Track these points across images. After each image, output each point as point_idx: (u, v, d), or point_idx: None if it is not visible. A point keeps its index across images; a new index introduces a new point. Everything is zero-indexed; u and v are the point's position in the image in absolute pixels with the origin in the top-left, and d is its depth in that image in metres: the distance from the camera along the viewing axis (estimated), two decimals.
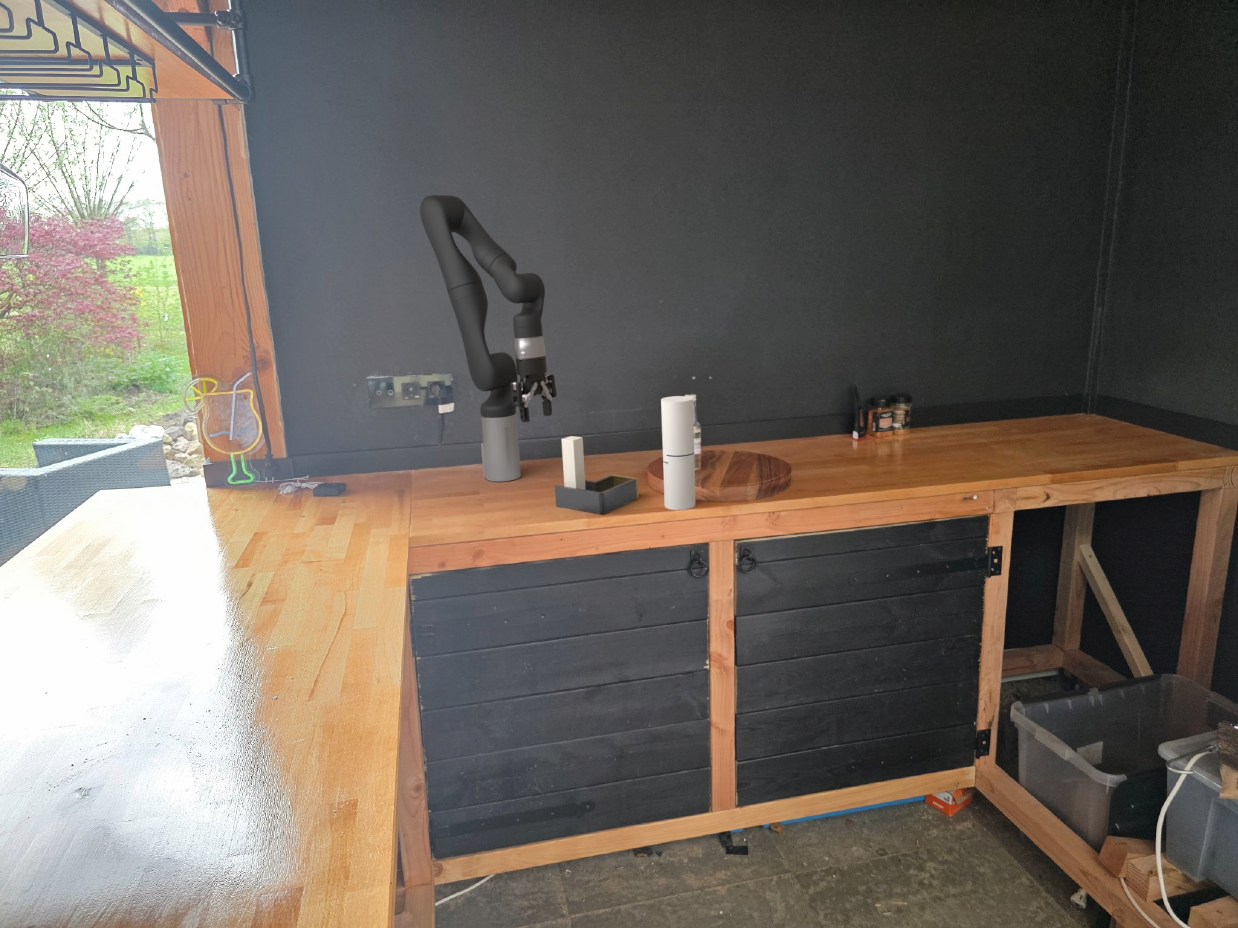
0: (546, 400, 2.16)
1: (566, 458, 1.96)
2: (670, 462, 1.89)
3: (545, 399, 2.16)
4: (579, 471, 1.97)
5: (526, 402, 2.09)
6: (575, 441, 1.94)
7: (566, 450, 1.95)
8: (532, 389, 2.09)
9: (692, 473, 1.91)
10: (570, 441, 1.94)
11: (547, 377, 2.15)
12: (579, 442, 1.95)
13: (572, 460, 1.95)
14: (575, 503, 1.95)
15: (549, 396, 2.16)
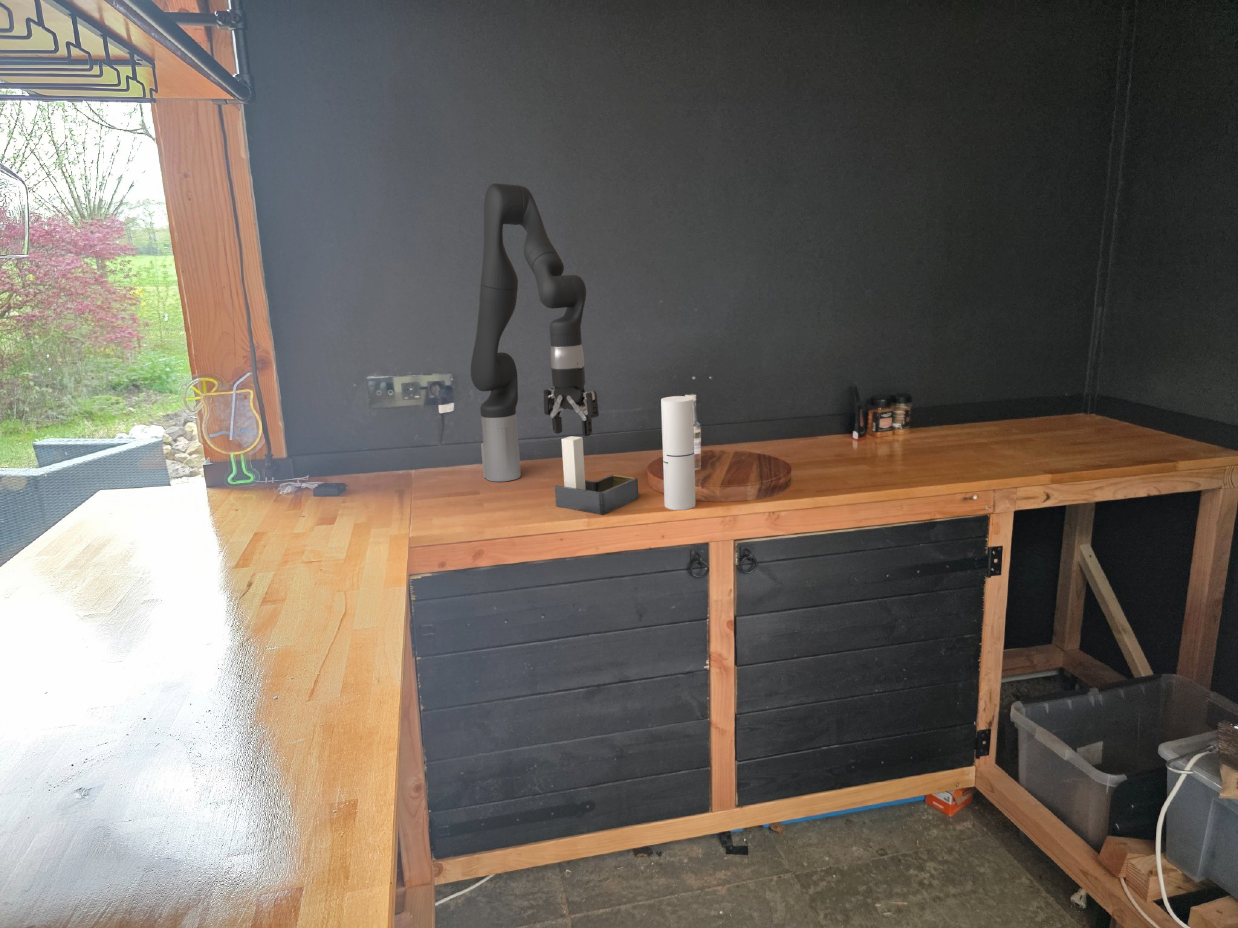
0: (558, 416, 1.97)
1: (566, 458, 1.96)
2: (670, 462, 1.89)
3: (557, 415, 1.97)
4: (579, 471, 1.97)
5: None
6: (575, 441, 1.94)
7: (566, 450, 1.95)
8: None
9: (692, 473, 1.91)
10: (570, 441, 1.94)
11: None
12: (579, 442, 1.95)
13: (572, 460, 1.95)
14: (575, 503, 1.95)
15: None
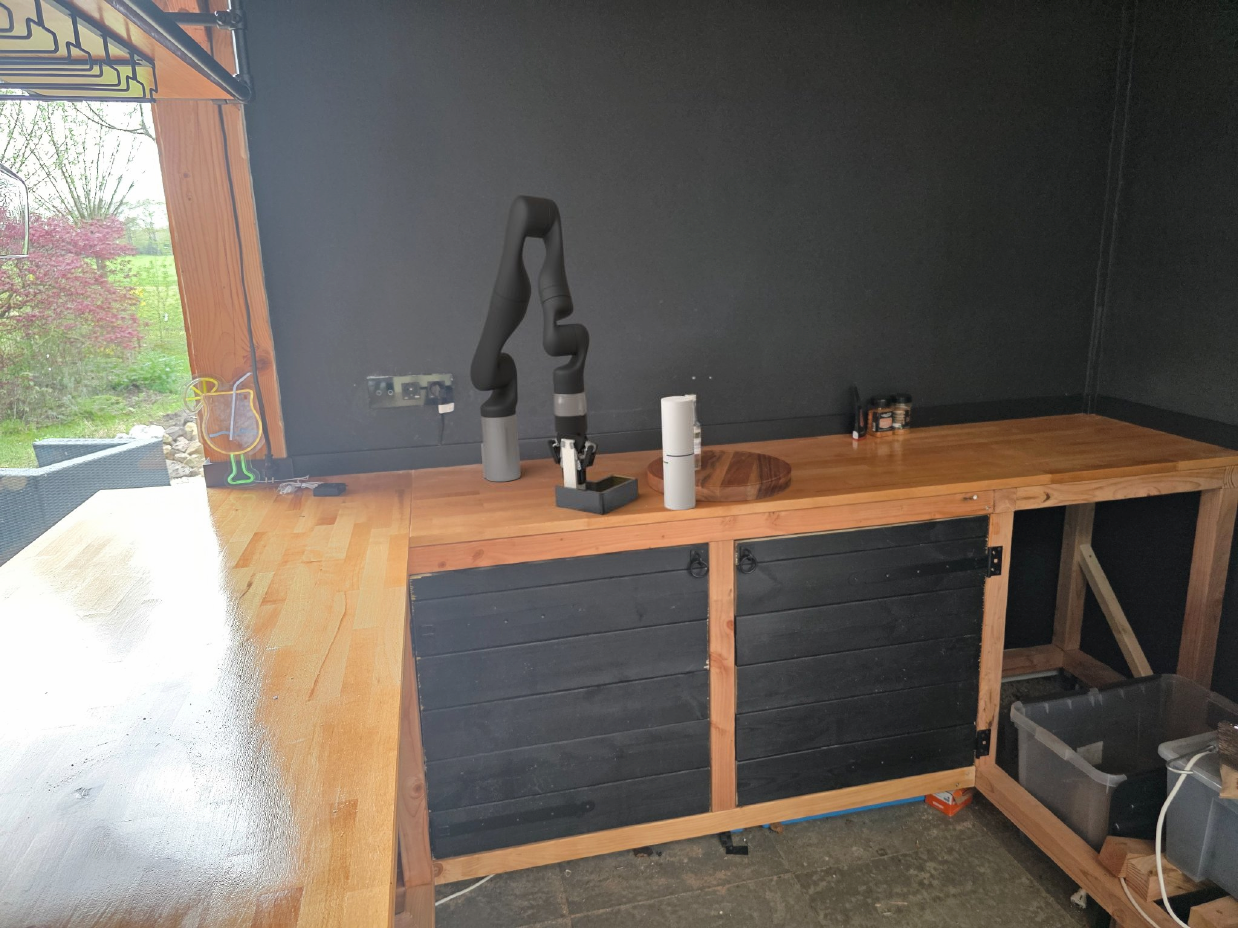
0: None
1: (566, 458, 1.96)
2: (670, 462, 1.89)
3: None
4: None
5: None
6: None
7: (566, 450, 1.95)
8: None
9: (692, 473, 1.91)
10: (570, 441, 1.94)
11: None
12: None
13: (572, 460, 1.95)
14: (575, 503, 1.95)
15: None
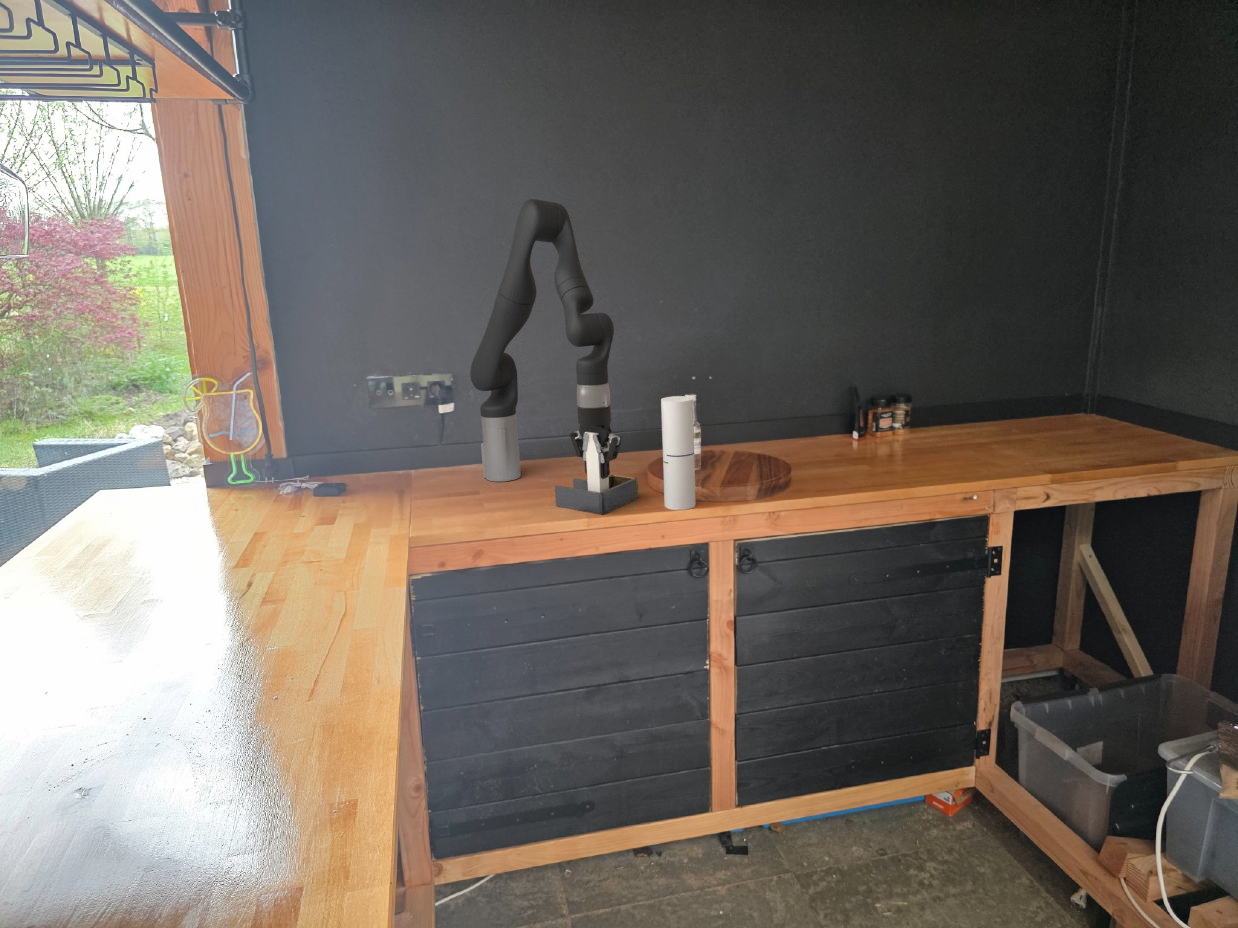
0: None
1: (590, 451, 1.91)
2: (670, 462, 1.89)
3: None
4: None
5: None
6: None
7: (589, 444, 1.91)
8: None
9: (692, 473, 1.91)
10: None
11: None
12: None
13: (596, 454, 1.91)
14: (575, 503, 1.95)
15: None
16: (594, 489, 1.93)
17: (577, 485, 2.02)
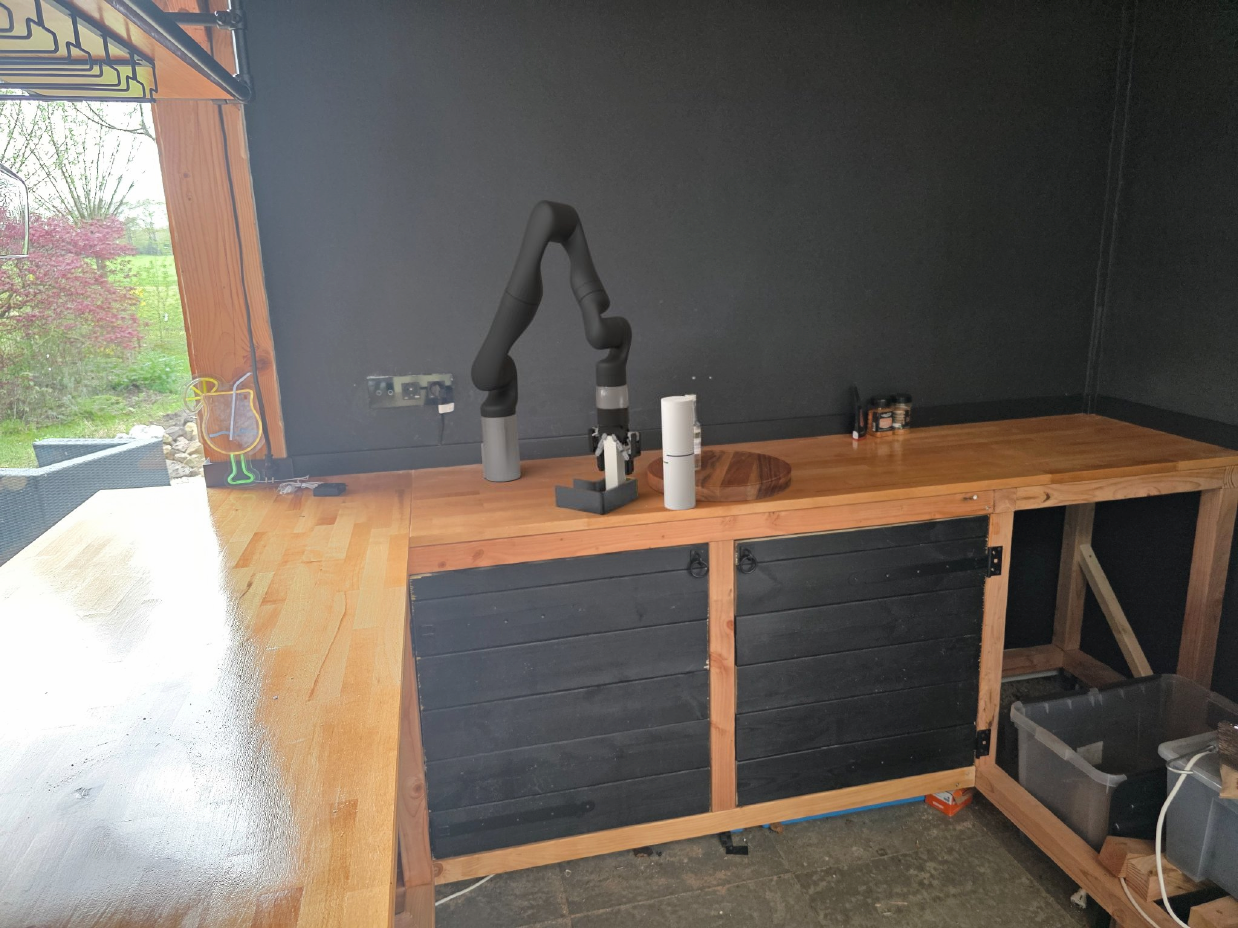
0: (603, 454, 2.01)
1: (608, 454, 1.97)
2: (670, 462, 1.89)
3: (602, 453, 2.01)
4: (621, 468, 1.98)
5: None
6: None
7: (608, 447, 1.97)
8: None
9: (692, 473, 1.91)
10: None
11: None
12: None
13: (614, 457, 1.96)
14: (575, 503, 1.95)
15: None
16: None
17: (577, 485, 2.02)
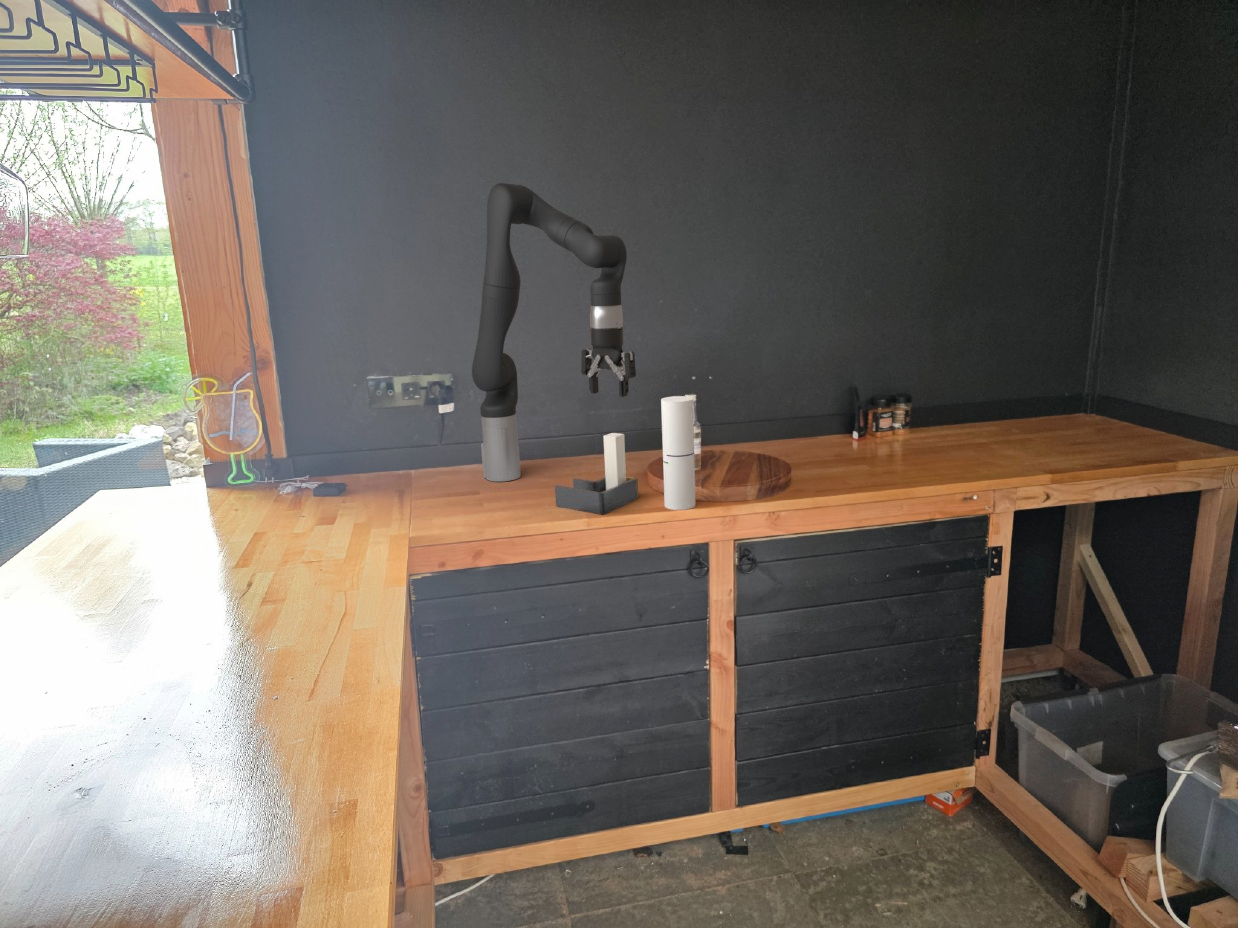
0: (595, 376, 1.99)
1: (608, 454, 1.97)
2: (670, 462, 1.89)
3: (594, 375, 1.99)
4: (621, 468, 1.98)
5: None
6: (617, 438, 1.96)
7: (608, 447, 1.97)
8: None
9: (692, 473, 1.91)
10: (612, 438, 1.95)
11: None
12: (621, 439, 1.97)
13: (614, 457, 1.96)
14: (575, 503, 1.95)
15: None
16: None
17: (577, 485, 2.02)
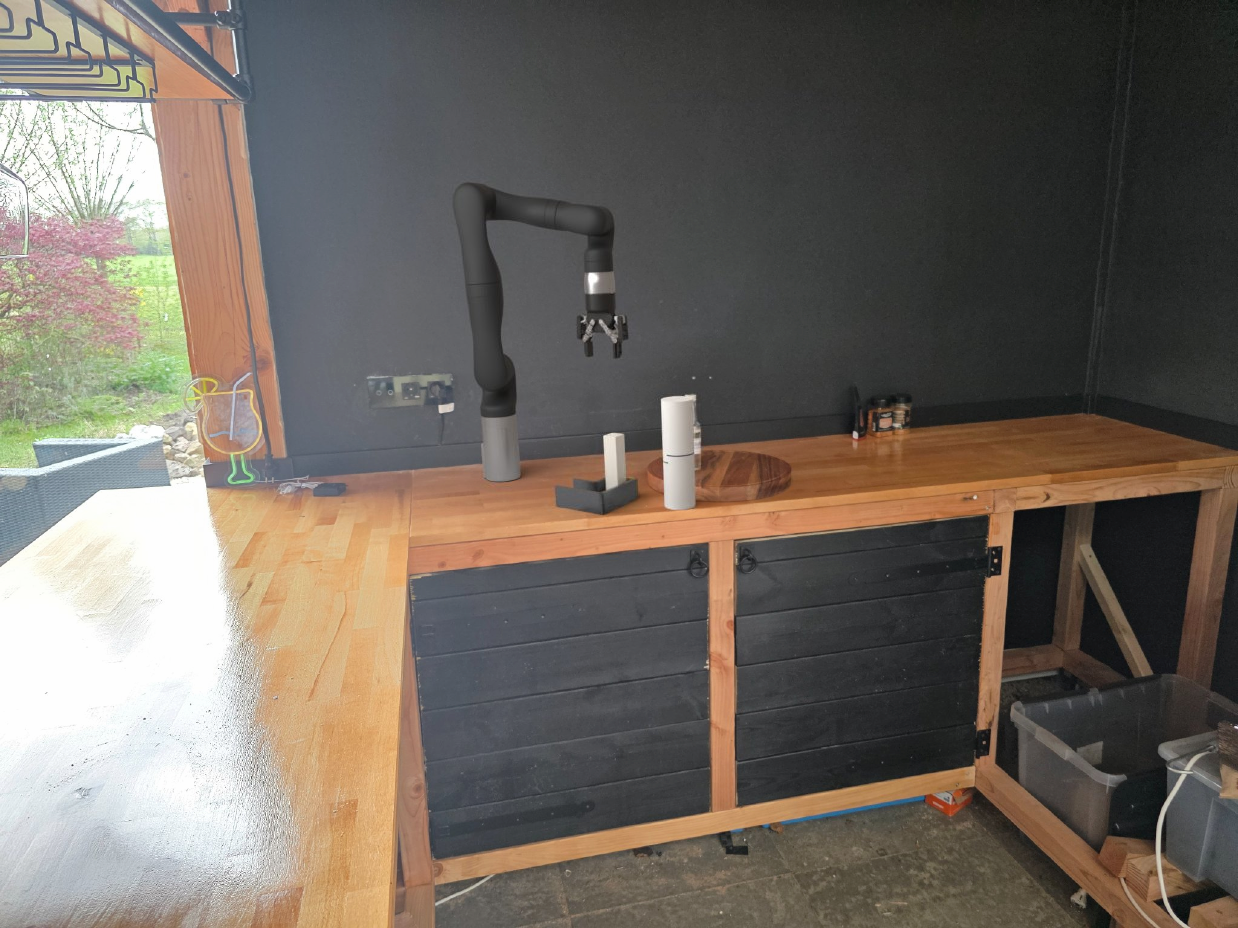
0: (589, 340, 2.11)
1: (608, 454, 1.97)
2: (670, 462, 1.89)
3: (589, 339, 2.11)
4: (621, 468, 1.98)
5: None
6: (617, 438, 1.96)
7: (607, 447, 1.97)
8: None
9: (692, 473, 1.91)
10: (612, 438, 1.95)
11: None
12: (621, 439, 1.97)
13: (614, 457, 1.96)
14: (575, 503, 1.95)
15: None
16: None
17: (577, 485, 2.02)
